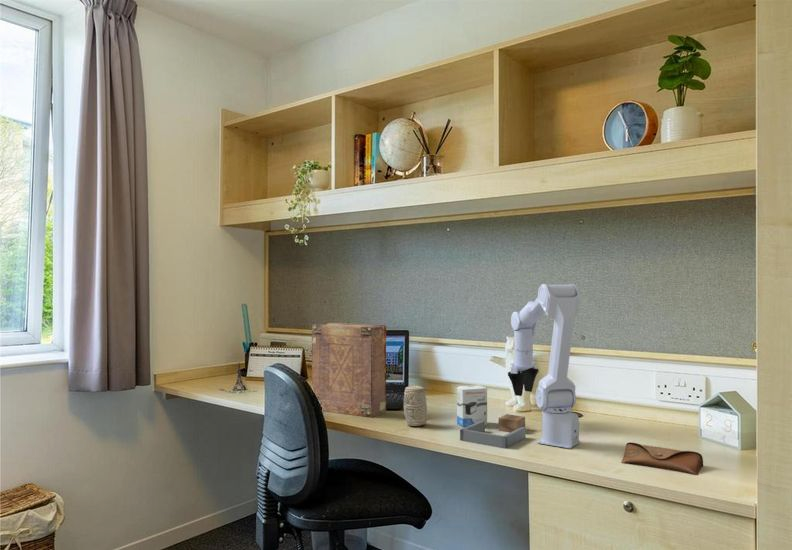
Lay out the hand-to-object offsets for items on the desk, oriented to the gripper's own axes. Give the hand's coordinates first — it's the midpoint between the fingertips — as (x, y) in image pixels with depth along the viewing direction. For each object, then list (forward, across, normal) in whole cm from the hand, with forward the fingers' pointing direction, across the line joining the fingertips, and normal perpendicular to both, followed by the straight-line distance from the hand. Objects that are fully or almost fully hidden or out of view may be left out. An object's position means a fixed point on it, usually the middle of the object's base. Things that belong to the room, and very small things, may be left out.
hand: (523, 393), depth 185 cm
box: (+9, +21, 0) cm, 23 cm away
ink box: (+10, +10, -13) cm, 19 cm away
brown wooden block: (+10, +9, 0) cm, 13 cm away
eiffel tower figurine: (+12, +14, -121) cm, 122 cm away
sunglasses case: (+9, +19, +44) cm, 49 cm away
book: (+10, +17, -57) cm, 61 cm away
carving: (+10, +21, -27) cm, 35 cm away
